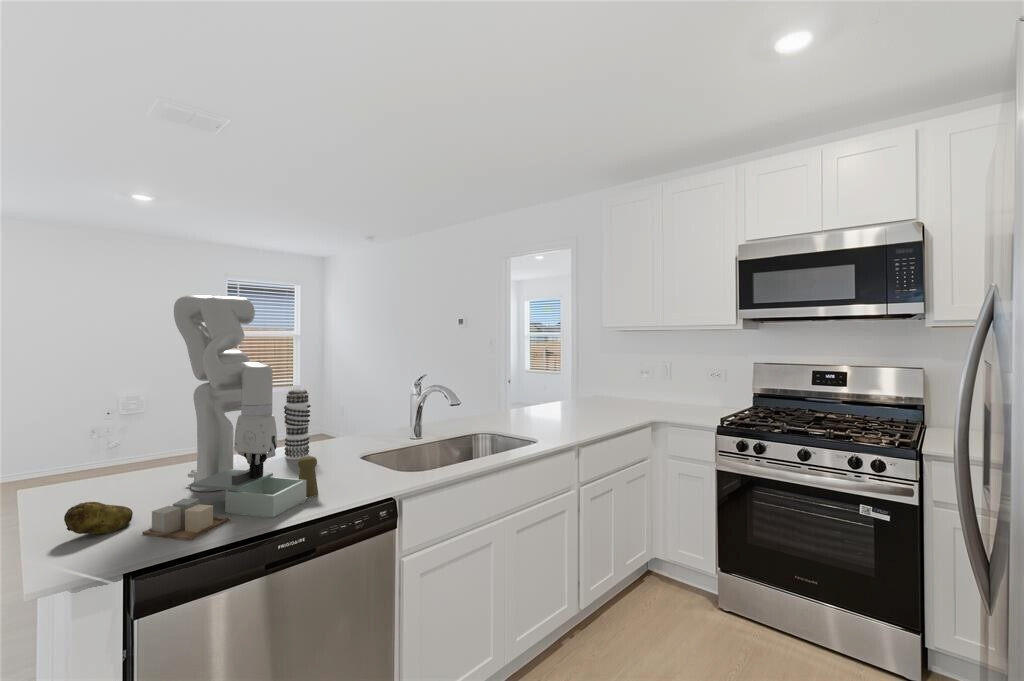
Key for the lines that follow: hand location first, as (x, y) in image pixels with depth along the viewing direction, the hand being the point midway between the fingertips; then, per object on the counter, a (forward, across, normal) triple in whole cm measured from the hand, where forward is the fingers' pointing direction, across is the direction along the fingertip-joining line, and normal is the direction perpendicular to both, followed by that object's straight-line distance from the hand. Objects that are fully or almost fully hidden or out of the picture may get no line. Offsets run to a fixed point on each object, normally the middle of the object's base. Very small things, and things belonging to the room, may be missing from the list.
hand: (256, 477), depth 136 cm
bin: (+8, +4, 0) cm, 9 cm away
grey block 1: (+8, -8, -20) cm, 23 cm away
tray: (+8, -5, -17) cm, 19 cm away
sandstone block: (+8, -2, -17) cm, 19 cm away
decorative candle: (+8, -20, +48) cm, 53 cm away
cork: (+8, +8, +12) cm, 16 cm away
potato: (+8, -22, -24) cm, 34 cm away
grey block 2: (+8, -8, -14) cm, 18 cm away
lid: (+2, -7, 0) cm, 7 cm away
